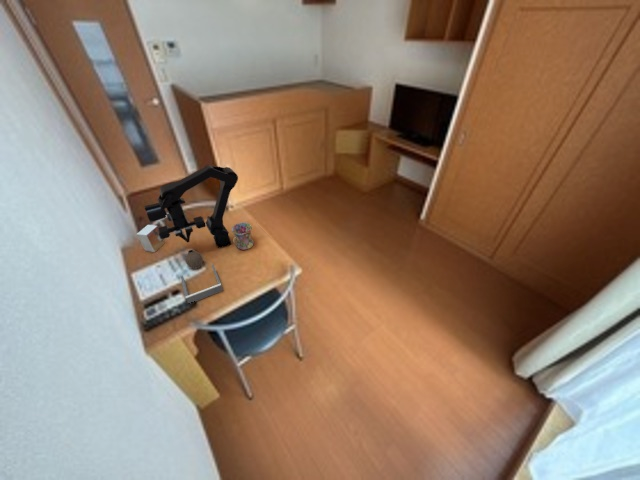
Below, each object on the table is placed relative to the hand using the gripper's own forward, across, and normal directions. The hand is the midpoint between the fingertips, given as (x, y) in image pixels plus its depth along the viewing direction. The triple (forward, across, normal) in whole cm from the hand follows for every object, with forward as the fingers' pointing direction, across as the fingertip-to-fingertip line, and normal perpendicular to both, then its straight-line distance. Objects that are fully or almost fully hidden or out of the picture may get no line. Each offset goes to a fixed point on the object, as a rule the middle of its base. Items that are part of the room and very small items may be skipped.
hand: (188, 241), depth 124 cm
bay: (+8, 0, +23) cm, 24 cm away
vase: (+8, 0, +9) cm, 12 cm away
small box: (+8, +15, -15) cm, 23 cm away
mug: (+8, -23, +7) cm, 25 cm away
